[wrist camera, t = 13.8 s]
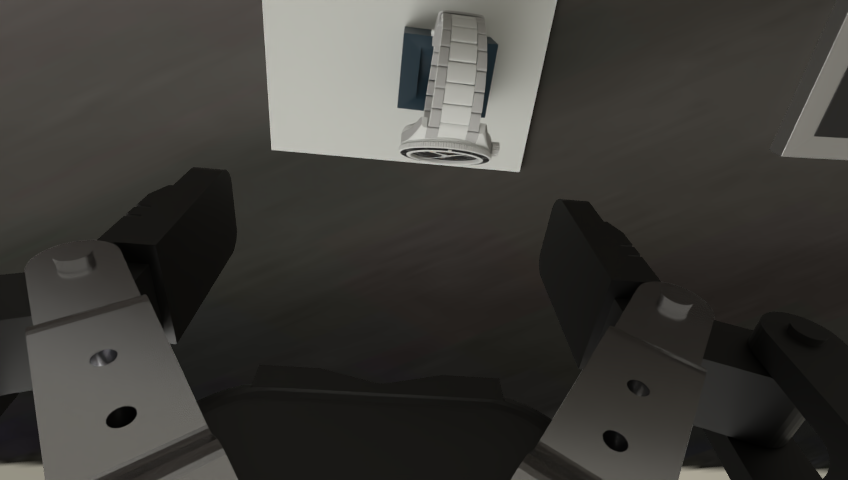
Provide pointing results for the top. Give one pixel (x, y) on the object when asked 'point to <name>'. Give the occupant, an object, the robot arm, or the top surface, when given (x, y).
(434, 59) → the watch
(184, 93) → the top surface
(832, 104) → the picture frame
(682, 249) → the top surface
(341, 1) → the mat
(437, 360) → the top surface
